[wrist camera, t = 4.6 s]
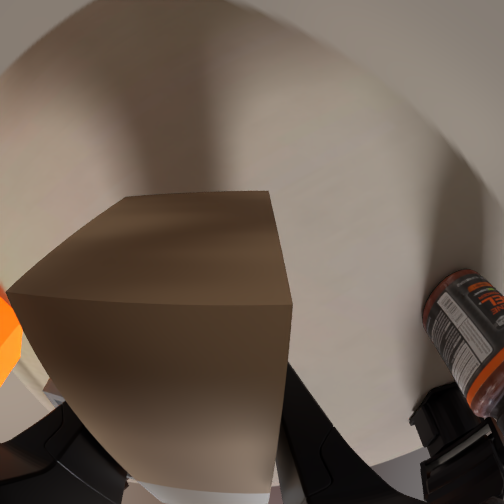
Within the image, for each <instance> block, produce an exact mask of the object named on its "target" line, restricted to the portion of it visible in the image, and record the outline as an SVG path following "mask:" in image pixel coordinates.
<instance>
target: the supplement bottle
mask: <svg viewBox="0 0 504 504" xmlns="http://www.w3.org/2000/svg"><path fill="white" fill-rule="evenodd" d="M423 326H424V329H425V330H426V332H427V334H428V336H429V337H430V339H431V341H432V342H433V344H434V345H435V347H436V349H437V350H438V352H439V354H440V355H441V357H442V358H443V360H444V362H445V363H446V365H447V367H448V368H449V370H450V372H451V374H452V376H453V377H454V379H455V381H456V382H457V384H458V386H459V388H460V390H461V392H462V393H463V395H464V397H465V398H466V400H467V402H468V404H469V406H470V408H471V409H472V411H473V413H474V414H475V415H476V416H478V417H483V418H486V417H493V418H496V419H497V423H496V424H497V426H498V427H499V428H500V430H501V432H502V434H503V436H504V296H503V295H502V294H500V292H499V291H497V290H496V288H495V287H493V286H492V285H491V284H490V283H489V282H488V281H487V280H486V279H485V278H483V276H481V275H480V274H478V273H477V272H475V271H473V270H470V269H464V270H460V271H457V272H455V273H453V274H451V275H450V276H448V277H446V278H445V279H444V280H443V281H442V282H441V283H440V284H439V285H438V286H437V287H436V288H435V290H434V291H433V292H432V294H431V295H430V297H429V299H428V300H427V303H426V305H425V308H424V312H423Z"/></svg>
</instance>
